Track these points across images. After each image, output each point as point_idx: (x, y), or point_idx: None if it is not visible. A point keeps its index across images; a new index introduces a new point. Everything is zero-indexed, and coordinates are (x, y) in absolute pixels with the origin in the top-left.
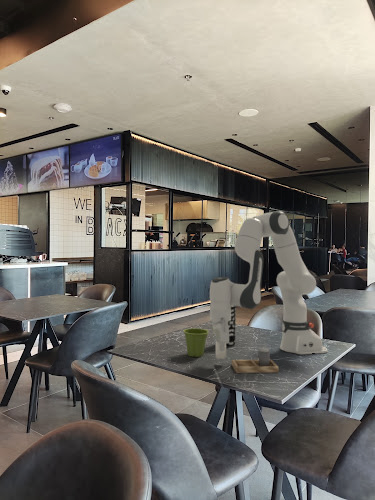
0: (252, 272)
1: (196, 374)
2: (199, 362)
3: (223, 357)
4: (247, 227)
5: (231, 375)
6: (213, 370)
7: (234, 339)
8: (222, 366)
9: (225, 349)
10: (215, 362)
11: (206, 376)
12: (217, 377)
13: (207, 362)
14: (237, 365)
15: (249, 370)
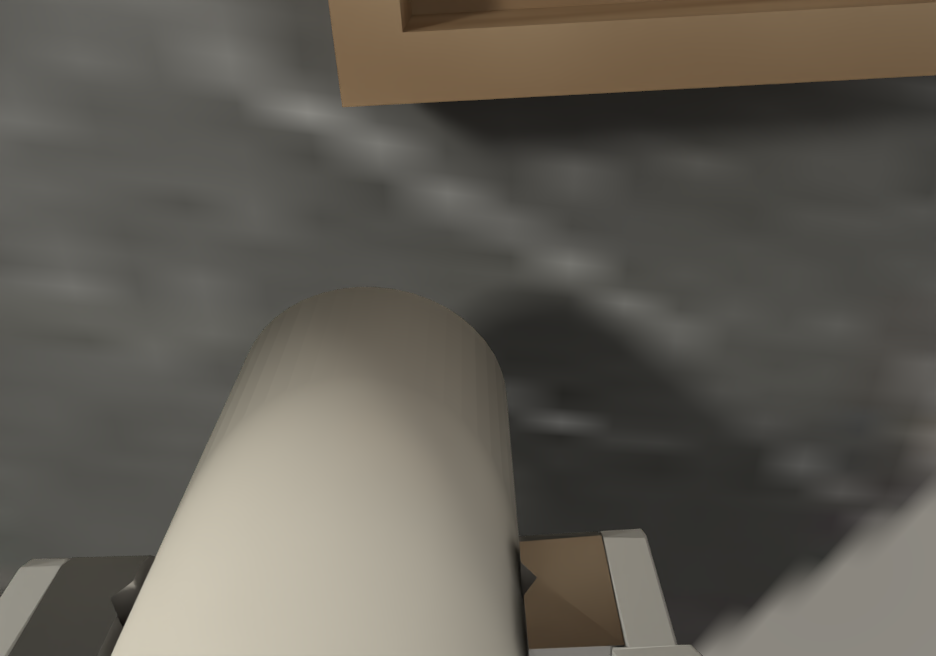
0: None
1: (730, 628)
2: None
3: (497, 380)
4: None
5: (898, 145)
6: (573, 422)
7: None
8: (339, 256)
9: (443, 467)
10: (108, 357)
11: (841, 528)
12: (930, 392)
13: (143, 478)
14: (854, 11)
15: None
